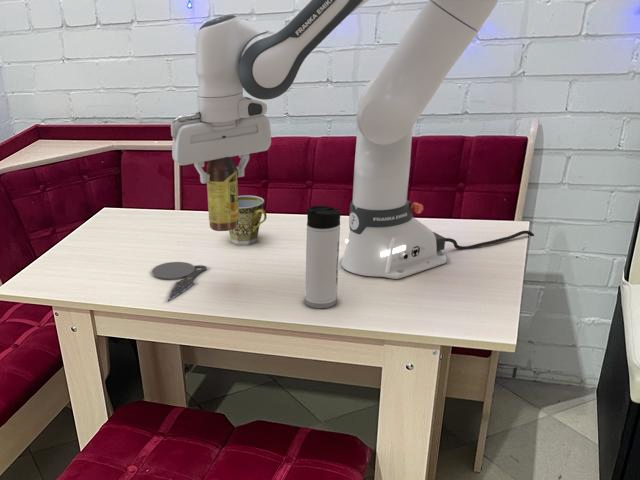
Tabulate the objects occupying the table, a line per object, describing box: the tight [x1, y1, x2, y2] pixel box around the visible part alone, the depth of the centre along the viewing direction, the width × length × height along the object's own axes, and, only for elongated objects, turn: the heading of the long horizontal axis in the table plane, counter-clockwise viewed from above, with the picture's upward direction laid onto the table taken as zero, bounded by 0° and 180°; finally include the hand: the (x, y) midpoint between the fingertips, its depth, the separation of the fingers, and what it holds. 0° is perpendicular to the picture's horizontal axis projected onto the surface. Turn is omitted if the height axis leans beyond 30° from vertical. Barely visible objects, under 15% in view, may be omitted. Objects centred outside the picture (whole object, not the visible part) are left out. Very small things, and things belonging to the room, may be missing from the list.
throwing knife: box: [167, 264, 207, 302], centre depth 168 cm, size 4×20×1 cm, turn 154°
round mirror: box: [151, 261, 195, 281], centre depth 174 cm, size 10×10×1 cm
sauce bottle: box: [206, 136, 239, 232], centre depth 153 cm, size 7×6×20 cm
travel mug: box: [304, 205, 341, 309], centre depth 147 cm, size 6×7×20 cm
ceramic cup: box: [228, 195, 267, 246], centre depth 184 cm, size 13×10×10 cm
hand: (222, 179), depth 152 cm, fingers closed on sauce bottle, 6 cm apart
